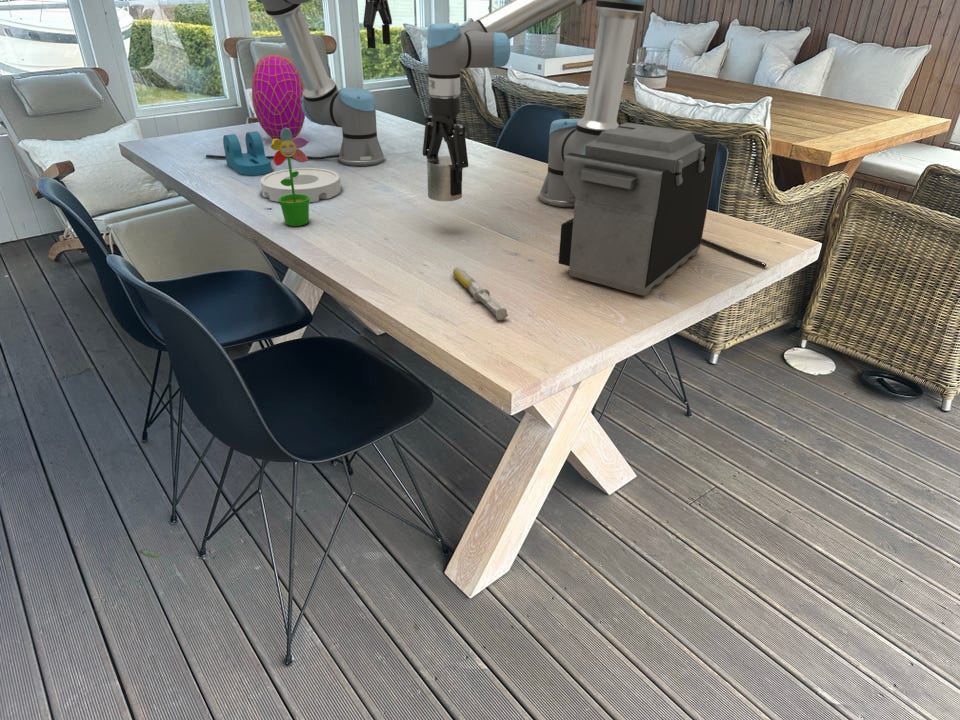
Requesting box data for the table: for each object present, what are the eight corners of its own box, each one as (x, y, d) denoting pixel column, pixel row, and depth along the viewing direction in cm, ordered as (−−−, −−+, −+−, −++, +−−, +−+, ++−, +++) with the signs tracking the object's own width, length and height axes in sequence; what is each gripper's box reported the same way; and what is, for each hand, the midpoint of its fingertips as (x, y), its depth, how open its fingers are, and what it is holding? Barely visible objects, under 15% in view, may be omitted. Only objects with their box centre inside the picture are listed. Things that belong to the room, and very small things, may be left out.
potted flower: (284, 229, 179) (270, 130, 166) (277, 220, 185) (263, 124, 172) (319, 224, 183) (308, 127, 170) (311, 215, 188) (300, 121, 176)
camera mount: (227, 164, 233) (221, 132, 227) (257, 160, 238) (252, 129, 233) (244, 176, 220) (239, 143, 215) (276, 172, 225) (271, 139, 220)
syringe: (449, 274, 155) (449, 263, 153) (465, 272, 156) (464, 260, 154) (490, 323, 135) (491, 310, 133) (508, 319, 136) (508, 307, 134)
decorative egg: (293, 132, 276) (283, 50, 261) (319, 140, 264) (310, 56, 249) (249, 139, 265) (236, 54, 250) (273, 148, 253) (261, 60, 238)
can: (433, 190, 179) (433, 155, 175) (465, 192, 178) (466, 157, 173) (423, 199, 172) (422, 163, 168) (456, 202, 170) (456, 166, 166)
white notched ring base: (275, 179, 218) (273, 167, 216) (347, 181, 217) (346, 168, 215) (251, 202, 198) (249, 188, 196) (331, 204, 197) (330, 190, 195)
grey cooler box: (622, 232, 180) (636, 112, 165) (704, 251, 169) (728, 124, 154) (550, 277, 154) (560, 140, 139) (641, 302, 143) (663, 157, 128)
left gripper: (370, -20, 229) (375, 50, 240) (398, -21, 250) (401, 42, 261) (350, -20, 231) (355, 49, 242) (379, -22, 251) (383, 42, 262)
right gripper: (406, 91, 168) (409, 182, 179) (458, 104, 153) (458, 203, 165) (431, 88, 172) (433, 178, 183) (484, 101, 157) (482, 198, 169)
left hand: (379, 46), depth 251 cm, fingers open, 13 cm apart
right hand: (445, 190), depth 174 cm, fingers closed on can, 9 cm apart
